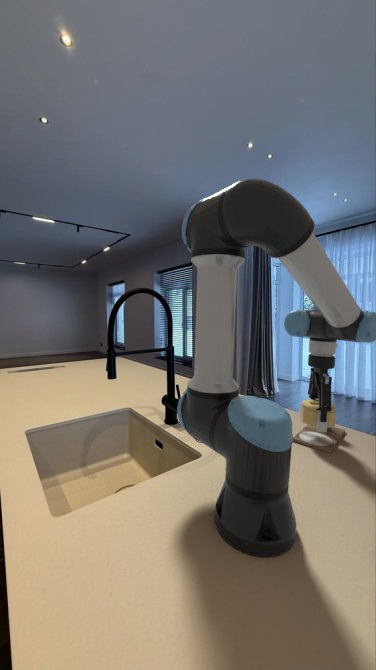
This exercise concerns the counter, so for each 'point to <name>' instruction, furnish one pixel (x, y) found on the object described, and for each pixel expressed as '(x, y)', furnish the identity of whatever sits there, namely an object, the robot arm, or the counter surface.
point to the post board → (319, 438)
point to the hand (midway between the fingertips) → (316, 424)
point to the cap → (315, 413)
